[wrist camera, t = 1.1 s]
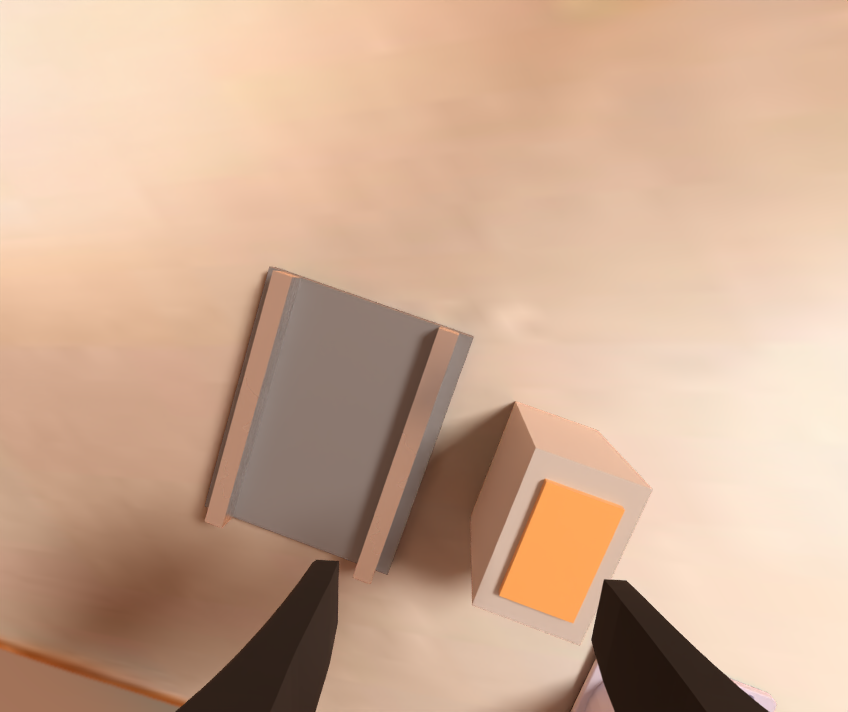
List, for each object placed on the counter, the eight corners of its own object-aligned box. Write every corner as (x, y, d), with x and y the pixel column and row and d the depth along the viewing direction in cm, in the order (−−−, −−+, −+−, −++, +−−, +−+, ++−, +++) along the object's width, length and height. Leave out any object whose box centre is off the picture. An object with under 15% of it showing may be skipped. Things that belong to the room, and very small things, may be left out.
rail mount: (473, 336, 23) (473, 340, 21) (390, 565, 25) (383, 589, 23) (276, 267, 23) (258, 265, 21) (212, 499, 26) (191, 516, 24)
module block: (597, 429, 23) (655, 493, 16) (548, 544, 24) (582, 651, 17) (515, 400, 23) (537, 450, 16) (470, 516, 25) (472, 610, 17)
